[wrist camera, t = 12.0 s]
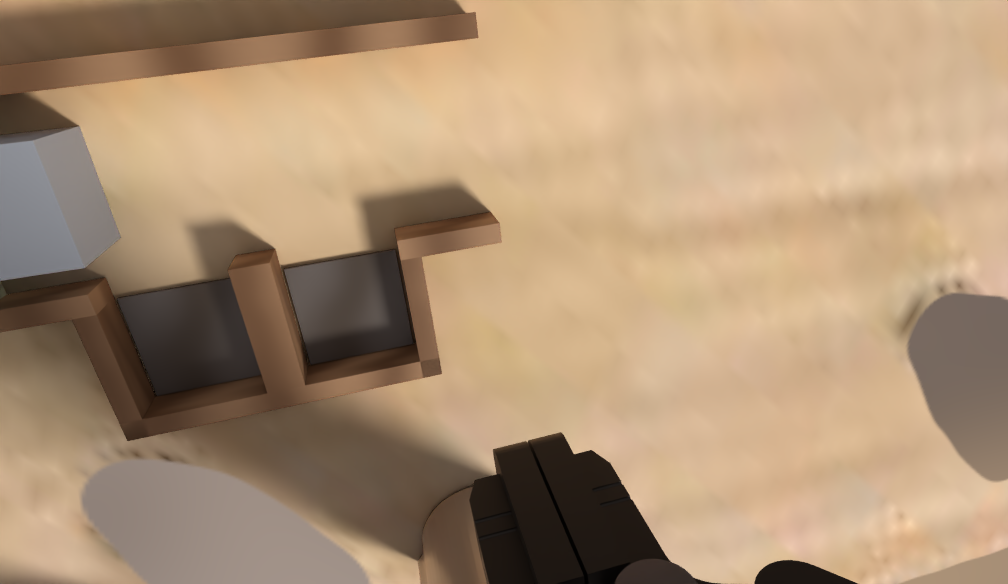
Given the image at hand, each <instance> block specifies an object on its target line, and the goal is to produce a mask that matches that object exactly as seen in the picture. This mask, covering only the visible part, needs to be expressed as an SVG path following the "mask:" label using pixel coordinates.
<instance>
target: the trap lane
mask: <svg viewBox="0 0 1008 584" xmlns="http://www.w3.org/2000/svg"><path fill="white" fill-rule="evenodd" d="M473 38H478V30H477V22H476V13H475V12H473V13H464V14H455V15H446V16H437V17H429V18H420V19H411V20H402V21H393V22H384V23H375V24H366V25H357V26H348V27H340V28H331V29H322V30H313V31H304V32H295V33H286V34H277V35H268V36H259V37H251V38H242V39H233V40H224V41H215V42H206V43H197V44H188V45H179V46H171V47H162V48H153V49H144V50H135V51H126V52H117V53H108V54H99V55H90V56H82V57H73V58H64V59H55V60H46V61H37V62H28V63H19V64H10V65H1V66H0V95H6V94H14V93H22V92H31V91H39V90H48V89H56V88H64V87H73V86H81V85H89V84H98V83H106V82H114V81H123V80H131V79H139V78H148V77H156V76H164V75H173V74H181V73H189V72H198V71H206V70H214V69H223V68H231V67H239V66H248V65H256V64H264V63H273V62H281V61H290V60H298V59H306V58H315V57H323V56H331V55H340V54H348V53H356V52H365V51H373V50H381V49H390V48H398V47H406V46H415V45H423V44H431V43H440V42H448V41H456V40H465V39H473ZM394 229H395V234H396V240H397V245H398V250H399V255H400V260H401V266H402V271H403V276H404V281H405V287H406V292H407V297H408V302H409V307H410V313H411V318H412V323H413V328H414V333H415V339H416V343H415V344H413V339H412V334H411V329H410V324H409V319H408V314H407V308H406V303H405V298H404V293H403V288H402V283H401V278H400V272H399V267H398V262H397V257H396V252H395V249H392V250H387V251H381V252H375V253H370V254H364V255H358V256H352V257H347V258H341V259H335V260H330V261H324V262H318V263H313V264H307V265H301V266H296V267H290V268H284V272H285V275H286V279H287V282H288V286H289V289H290V293H291V297H292V300H293V304H294V307H295V311H296V314H297V318H298V321H299V325H300V329H301V332H302V336H303V339H304V343H305V346H306V350H307V353H308V357H309V361H310V364H311V365H308V363H307V360H306V356H305V353H304V349H303V346H302V342H301V338H300V335H299V331H298V328H297V324H296V321H295V317H294V314H293V310H292V307H291V303H290V300H289V296H288V293H287V289H286V286H285V282H284V278H283V275H282V271H281V268H280V264H279V261H278V257H277V254H276V250H275V249H270V250H264V251H258V252H253V253H247V254H241V255H236V256H235V258H234V260H233V261H232V263H231V265H230V267H229V269H228V273H229V276H230V278H227V279H222V280H216V281H210V282H205V283H199V284H193V285H188V286H182V287H176V288H171V289H165V290H159V291H154V292H148V293H142V294H137V295H131V296H125V297H119V298H117V301H118V303H119V305H120V308H121V310H122V313H123V315H124V317H125V320H126V322H127V325H128V327H129V329H130V332H131V334H132V337H133V339H134V341H135V344H136V346H137V349H138V351H139V353H140V356H141V358H142V361H143V363H144V365H145V368H146V370H147V373H148V375H149V377H150V380H151V382H152V385H153V387H154V389H155V392H156V394H157V396H155V394H154V392H153V390H152V387H151V385H150V382H149V380H148V378H147V375H146V373H145V370H144V368H143V366H142V363H141V361H140V358H139V356H138V354H137V351H136V349H135V346H134V344H133V342H132V339H131V337H130V335H129V332H128V330H127V327H126V325H125V323H124V320H123V318H122V315H121V313H120V311H119V308H118V306H117V303H116V301H115V299H114V296H113V294H112V292H111V289H110V287H109V284H108V282H107V280H106V278H100V279H94V280H88V281H82V282H76V283H70V284H65V285H59V286H53V287H47V288H41V289H35V290H29V291H23V292H17V293H12V294H7V295H5V296H4V297H3V298H1V299H0V332H5V331H11V330H16V329H22V328H27V327H33V326H38V325H44V324H50V323H55V322H61V321H66V320H72V321H73V323H74V325H75V327H76V330H77V332H78V334H79V336H80V338H81V341H82V343H83V345H84V347H85V349H86V351H87V354H88V356H89V358H90V360H91V362H92V364H93V367H94V369H95V371H96V373H97V375H98V378H99V380H100V382H101V384H102V386H103V388H104V391H105V393H106V395H107V397H108V399H109V402H110V404H111V406H112V408H113V410H114V412H115V415H116V417H117V419H118V421H119V423H120V426H121V428H122V430H123V432H124V434H125V436H126V439H127V441H130V440H135V439H140V438H144V437H149V436H154V435H158V434H163V433H168V432H172V431H177V430H182V429H186V428H191V427H196V426H200V425H205V424H210V423H215V422H219V421H224V420H229V419H233V418H238V417H243V416H247V415H252V414H257V413H261V412H266V411H271V410H275V409H280V408H285V407H289V406H294V405H299V404H303V403H308V402H313V401H318V400H322V399H327V398H332V397H336V396H341V395H346V394H350V393H355V392H360V391H364V390H369V389H374V388H378V387H383V386H388V385H392V384H397V383H402V382H406V381H411V380H416V379H421V378H425V377H430V376H435V375H439V374H442V371H441V366H440V360H439V354H438V349H437V343H436V337H435V331H434V326H433V320H432V314H431V309H430V303H429V297H428V292H427V286H426V280H425V274H424V269H423V263H422V257H423V256H429V255H434V254H440V253H445V252H451V251H456V250H462V249H468V248H473V247H479V246H484V245H490V244H495V243H501V242H502V241H501V232H500V223H499V222H498V221H497V219H496V218H495V217H494V216H493V214H492V213H491V212H488V213H482V214H476V215H470V216H464V217H458V218H452V219H446V220H441V221H435V222H429V223H423V224H417V225H411V226H405V227H399V228H394Z"/></svg>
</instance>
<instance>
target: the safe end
mask: <svg viewBox="0 0 1008 584" xmlns="http://www.w3.org/2000/svg"><path fill="white" fill-rule="evenodd" d="M5 295H7V293H6V291H5V289H4V287H3V285H2V283H1V281H0V299H1V298H3V297H4V296H5Z"/></svg>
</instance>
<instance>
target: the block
mask: <svg viewBox="0 0 1008 584" xmlns="http://www.w3.org/2000/svg"><path fill="white" fill-rule="evenodd" d="M120 238H121V236H120V234H119V231H118V228H117V226H116V223H115V220H114V218H113V215H112V212H111V210H110V207H109V204H108V202H107V199H106V196H105V194H104V191H103V188H102V186H101V183H100V180H99V177H98V175H97V172H96V169H95V167H94V164H93V161H92V159H91V156H90V153H89V151H88V148H87V145H86V143H85V140H84V137H83V135H82V132H81V129H80V127H79V126H75V127H66V128H58V129H49V130H40V131H31V132H22V133H13V134H4V135H0V281H2V280H9V279H16V278H22V277H29V276H36V275H42V274H49V273H55V272H62V271H69V270H75V269H82V268H86V267H87V266H88V265H89V264H90V263H91V262H93V261H94V260H95V259H96V258H97V257H99V256H100V255H101V254H102V253H103V252H104V251H106V250H107V249H108V248H109V247H110V246H111V245H113V244H114V243H115V242H116V241H117V240H119V239H120Z"/></svg>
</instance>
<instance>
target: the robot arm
mask: <svg viewBox="0 0 1008 584" xmlns="http://www.w3.org/2000/svg"><path fill="white" fill-rule="evenodd" d="M493 455H494V461H495V467H496V473H497V475H493V476H489V477H485V478H481V479H477V480H475V482H474V485H473V487H470V488H466V489H463V490H461V491H459V492H457V493H455V494H453V495H451V496H450V497H448V498H447V499H445V500H444V501H442V502H441V503H440V504H439V505H438V506H437V507H436V508H435V509H434V510H433V512H432V513H431V515H430V516H429V518H428V519H427V521H426V524H425V526H424V529H423V535H422V544H423V554H422V556H421V558H420V559H419V561H418V566H419V574H420V583H421V584H719V583H710V582H705V581H701V580H698V579H695V578H693V577H692V576H691V574H689V573H688V572H687V571H686V570H685V569H683V568H682V567H680V566H679V565H677V564H674V563H672V562H670V561H669V559H668V558H667V556H666V555H665V553H664V552H663V550H662V548H661V547H660V545H659V544H658V542H657V540H656V539H655V537H654V535H653V534H652V532H651V530H650V529H649V527H648V525H647V524H646V522H645V520H644V519H643V517H642V515H641V514H640V512H639V510H638V509H637V507H636V505H635V504H634V502H633V500H631V499H630V495H629V494H628V492H627V490H626V489H625V487H624V485H622V484H621V480H620V479H619V477H618V475H617V474H616V472H615V470H614V469H613V467H612V465H611V464H610V463H609V462H608V461H606V460H605V459H603V458H602V457H601V456H599V455H598V454H596V453H595V452H594V451H592V450H590V451H586V452H582V453H578V454H573V452H572V450H571V448H570V446H569V444H568V442H567V440H566V439H565V437H564V435H563V434H562V433H561V432H560V433H556V434H552V435H548V436H544V437H540V438H536V439H532V440H529V441H528V443H527V442H526V441H525V442H521V443H517V444H513V445H509V446H505V447H501V448H497V449H493ZM755 584H858V583H855V582H853V581H850V580H848V579H845V578H843V577H841V576H838V575H836V574H833V573H831V572H829V571H826V570H824V569H821V568H819V567H816V566H814V565H811V564H808V563H805V562H800V561H793V560H783V561H777V562H774V563H771V564H769V565H767V566H765V567H764V568H763V569H762V570H761V571H760V572H759V573H758V575H757V576H756V579H755Z"/></svg>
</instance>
